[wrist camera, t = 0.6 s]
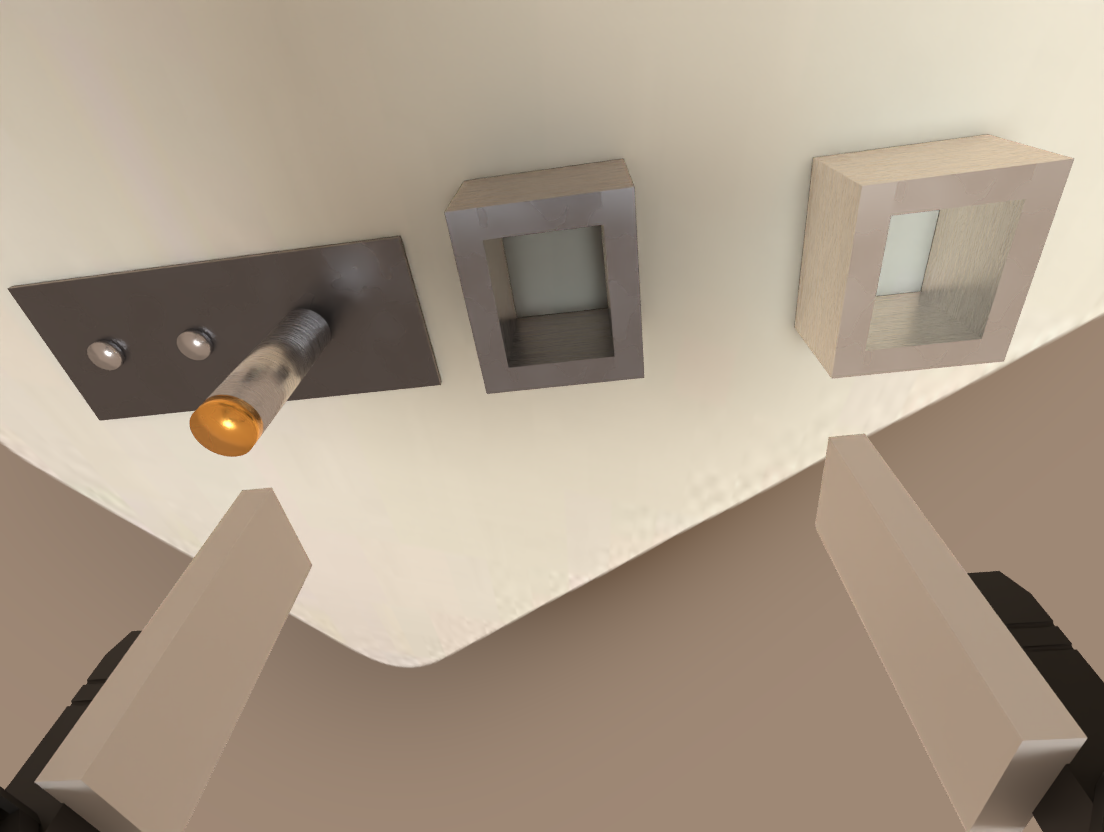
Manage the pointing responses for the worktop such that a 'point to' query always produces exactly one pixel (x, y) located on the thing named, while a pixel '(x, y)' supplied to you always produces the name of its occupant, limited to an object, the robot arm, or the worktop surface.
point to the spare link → (954, 262)
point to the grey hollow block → (558, 339)
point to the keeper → (237, 335)
